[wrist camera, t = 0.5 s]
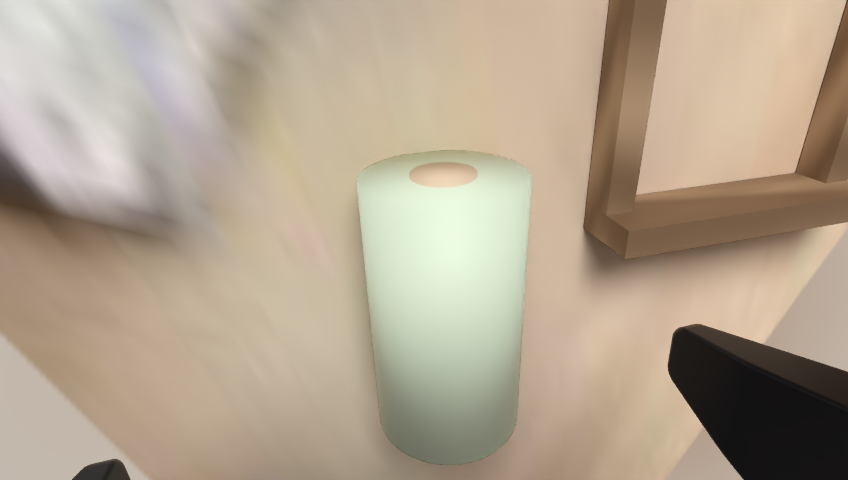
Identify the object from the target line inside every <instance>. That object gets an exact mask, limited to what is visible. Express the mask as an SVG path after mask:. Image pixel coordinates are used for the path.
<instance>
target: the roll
mask: <svg viewBox="0 0 848 480" xmlns="http://www.w3.org/2000/svg"><path fill="white" fill-rule="evenodd" d="M531 182H532V176H531V173H530V171H529V170H528V169H527V168H526V167H525V166H523V165H522V164H520V163H518V162H516V161H514V160H511V159H508V158H506V157H502V156H498V155H493V154H488V153H482V152H473V151H457V150H442V151H433V152H423V153H414V154H405V155H400V156H395V157H391V158H388V159H385V160H382V161H379V162H377V163H374V164H372V165H371V166H369V167H367V168H366V169H364V170H363V171H362V172H361V173H360V174H359V175H358V177H357V181H356V183H357V193H358V204H359V214H360V224H361V234H362V244H363V254H364V264H365V274H366V284H367V294H368V304H369V315H370V325H371V335H372V345H373V355H374V365H375V375H376V385H377V395H378V405H379V415H380V422H381V425H382V428H383V430H384V432H385V434H386V436H387V437H388V439H389V440H390V441H391V442H392V443H393V444H394V445H395V446H396V447H397V448H398V449H400V450H401V451H402V452H404V453H405V454H407V455H409V456H411V457H413V458H416V459H418V460H421V461H424V462H428V463H433V464H440V465H457V464H464V463H470V462H473V461H477V460H480V459H482V458H484V457H487V456H489V455H490V454H492V453H494V452H495V451H497V450H498V449H499V448H500V447H502V446H503V445H504V444H505V442H506V441H507V440H508V439H509V437H510V436H511V434H512V433H513V430H514V428H515V425H516V421H517V410H518V393H519V377H520V361H521V344H522V328H523V312H524V296H525V279H526V263H527V247H528V230H529V214H530V198H531Z"/></svg>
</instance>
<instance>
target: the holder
mask: <svg viewBox="0 0 848 480" xmlns="http://www.w3.org/2000/svg"><path fill="white" fill-rule="evenodd" d="M666 3H667V0H610V1H609V10H608V19H607V28H606V36H605V45H604V54H603V63H602V71H601V80H600V89H599V98H598V106H597V115H596V124H595V133H594V141H593V150H592V159H591V168H590V176H589V185H588V194H587V203H586V211H585V220H584V229H586V230H587V231H588V232H590V233H591V234H592V235H593V236H595V237H596V238H597V239H599V240H600V241H601V242H603V243H604V244H605V245H606V246H608V247H609V248H610V249H612V250H613V251H614V252H615V253H617V254H618V255H619V256H621V257H622V258H623V259H631V258H637V257H643V256H649V255H655V254H661V253H667V252H672V251H678V250H684V249H690V248H696V247H702V246H708V245H714V244H720V243H726V242H732V241H738V240H744V239H750V238H756V237H762V236H768V235H774V234H780V233H785V232H791V231H797V230H803V229H809V228H815V227H821V226H827V225H833V224H839V223H845V222H848V1H847V5H846V8H845V11H844V15H843V18H842V21H841V25H840V28H839V31H838V35H837V38H836V41H835V44H834V48H833V51H832V54H831V58H830V61H829V64H828V68H827V71H826V74H825V78H824V81H823V84H822V88H821V91H820V94H819V98H818V101H817V104H816V107H815V111H814V114H813V117H812V121H811V124H810V127H809V131H808V134H807V137H806V141H805V144H804V147H803V151H802V154H801V157H800V161H799V164H798V167H797V170H796V173H792V174H785V175H778V176H770V177H763V178H756V179H749V180H742V181H735V182H727V183H720V184H713V185H706V186H699V187H691V188H684V189H677V190H670V191H663V192H656V193H648V194H641V195H636V191H637V185H638V179H639V172H640V166H641V160H642V153H643V147H644V141H645V135H646V128H647V122H648V116H649V109H650V103H651V97H652V91H653V84H654V78H655V72H656V65H657V59H658V53H659V47H660V40H661V34H662V28H663V22H664V15H665V9H666Z"/></svg>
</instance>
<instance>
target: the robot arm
mask: <svg viewBox="0 0 848 480" xmlns="http://www.w3.org/2000/svg"><path fill="white" fill-rule="evenodd" d="M668 371H669V375H670V377H671V379H672V381H673V382H674V384H675V385H676V387H677V388H678V390H679V391H680V393H681V394H682V395H683V397H684V398H685V400H686V401H687V403H688V404H689V406H690V407H691V409H692V410H693V412H694V413H695V414H696V416H697V417H698V419H699V420H700V422H701V423H702V425H703V426H704V428H705V429H706V430H707V432H708V433H709V435H710V436H711V438H712V439H713V440H714V442H715V444H716V445H717V446H718V448H719V449H720V451H721V452H722V453H723V455H724V456H725V457H726V458H727V460H728V461H729V462H730V464H731V465H732V466H733V467H734V469H735V470H736V471H737V472H738V473H739V475H740V476H741V477H742V478H743V479H744V480H848V372H847V371H844V370H841V369H838V368H834V367H831V366H828V365H825V364H822V363H819V362H816V361H813V360H810V359H806V358H804V357H800V356H797V355H794V354H791V353H788V352H785V351H782V350H779V349H776V348H773V347H769V346H766V345H763V344H760V343H757V342H754V341H751V340H748V339H745V338H742V337H739V336H735V335H732V334H729V333H726V332H723V331H720V330H717V329H714V328H711V327H708V326H704V325H701V324H693V325H689V326H684V327H680V328H678V329H676V330H675V332H674V333H673V337H672V342H671V348H670V354H669V360H668ZM72 480H130V477H129V475H128V473H127V470H126V468H125V466H124V464H123V463H122V462H121V461H120V460H118V459H111V460H107V461H103V462H99V463H94V464H91V465H88V466H86V467H84V468H83V469H82V470H81V471H80V472H79V473H78V474H77V475H76V476H75V477H74V478H73V479H72Z"/></svg>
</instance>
